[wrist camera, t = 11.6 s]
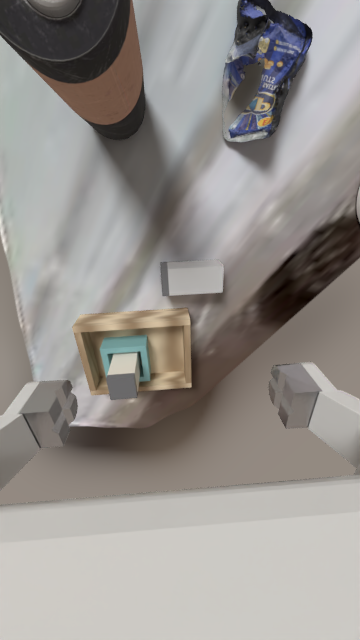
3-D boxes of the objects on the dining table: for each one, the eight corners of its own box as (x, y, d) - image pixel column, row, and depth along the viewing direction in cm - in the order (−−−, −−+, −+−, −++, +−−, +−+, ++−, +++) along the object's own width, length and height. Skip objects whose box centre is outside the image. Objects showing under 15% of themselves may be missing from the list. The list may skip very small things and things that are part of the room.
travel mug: (133, 155, 31) (96, 101, 13) (72, 120, 28) (-71, -2, 11) (157, 84, 28) (154, -114, 10) (92, 39, 26) (-60, -310, 8)
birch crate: (187, 307, 41) (190, 319, 37) (188, 371, 47) (191, 387, 44) (80, 314, 40) (72, 327, 36) (97, 379, 47) (91, 395, 43)
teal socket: (146, 334, 42) (145, 345, 39) (150, 368, 45) (150, 380, 42) (104, 337, 42) (99, 349, 38) (111, 371, 45) (107, 384, 42)
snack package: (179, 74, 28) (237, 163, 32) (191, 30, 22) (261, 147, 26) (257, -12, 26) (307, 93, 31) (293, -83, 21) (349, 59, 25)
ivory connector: (138, 343, 43) (133, 377, 35) (141, 361, 44) (137, 397, 36) (116, 345, 42) (106, 379, 34) (119, 363, 44) (110, 399, 36)
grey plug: (217, 259, 38) (223, 266, 34) (216, 283, 39) (222, 292, 36) (160, 262, 37) (160, 269, 34) (162, 286, 39) (162, 296, 35)
